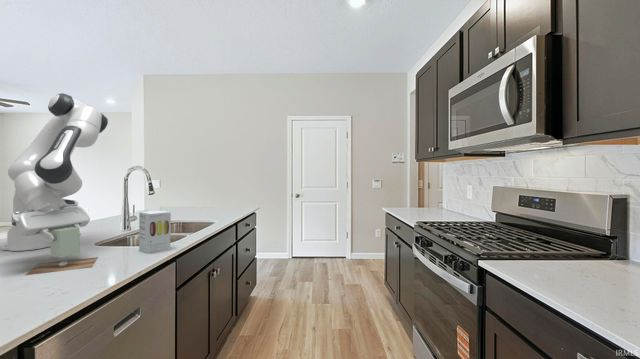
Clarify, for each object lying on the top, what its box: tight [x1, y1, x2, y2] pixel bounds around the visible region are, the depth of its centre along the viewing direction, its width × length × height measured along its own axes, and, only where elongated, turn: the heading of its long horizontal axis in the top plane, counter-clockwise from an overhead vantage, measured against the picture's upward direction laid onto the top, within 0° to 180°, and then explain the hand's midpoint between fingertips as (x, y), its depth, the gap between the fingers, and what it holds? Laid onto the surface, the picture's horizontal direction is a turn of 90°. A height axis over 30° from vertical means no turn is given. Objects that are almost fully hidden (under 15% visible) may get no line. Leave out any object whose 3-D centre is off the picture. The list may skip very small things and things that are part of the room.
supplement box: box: [138, 210, 172, 255], centre depth 129 cm, size 10×9×17 cm
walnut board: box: [25, 256, 99, 276], centre depth 104 cm, size 14×17×1 cm
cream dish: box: [59, 262, 67, 267], centre depth 104 cm, size 2×2×1 cm
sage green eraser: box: [50, 227, 81, 258], centre depth 104 cm, size 5×6×9 cm
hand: (66, 238), depth 104 cm, fingers closed on sage green eraser, 6 cm apart
